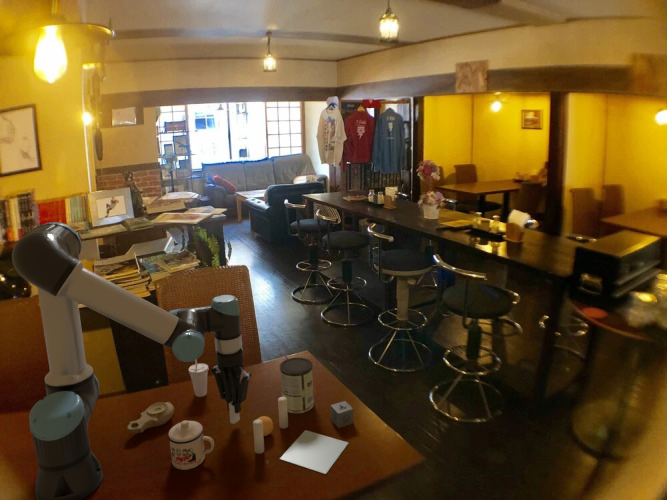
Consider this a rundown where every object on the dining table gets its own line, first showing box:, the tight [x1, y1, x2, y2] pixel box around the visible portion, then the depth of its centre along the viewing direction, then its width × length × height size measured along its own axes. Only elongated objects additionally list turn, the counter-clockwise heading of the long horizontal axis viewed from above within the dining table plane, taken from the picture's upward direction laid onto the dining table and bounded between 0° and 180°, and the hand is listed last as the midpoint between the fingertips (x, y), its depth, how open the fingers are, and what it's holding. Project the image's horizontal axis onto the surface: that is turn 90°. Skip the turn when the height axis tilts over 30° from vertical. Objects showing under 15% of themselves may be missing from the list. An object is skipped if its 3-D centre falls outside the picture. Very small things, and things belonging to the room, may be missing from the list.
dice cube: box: [330, 400, 354, 429], centre depth 151 cm, size 5×5×5 cm
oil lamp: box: [126, 401, 175, 434], centre depth 151 cm, size 11×14×5 cm
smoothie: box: [188, 359, 210, 398], centre depth 166 cm, size 6×6×14 cm
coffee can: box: [279, 357, 315, 414], centre depth 159 cm, size 10×10×14 cm
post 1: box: [252, 418, 265, 455], centre depth 138 cm, size 3×3×9 cm
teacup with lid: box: [167, 420, 215, 471], centre depth 134 cm, size 12×9×12 cm
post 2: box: [277, 396, 289, 429], centre depth 149 cm, size 3×3×9 cm
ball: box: [256, 415, 274, 437], centre depth 145 cm, size 6×6×6 cm
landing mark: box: [279, 429, 349, 475], centre depth 138 cm, size 14×14×1 cm
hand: (235, 420), depth 150 cm, fingers closed
